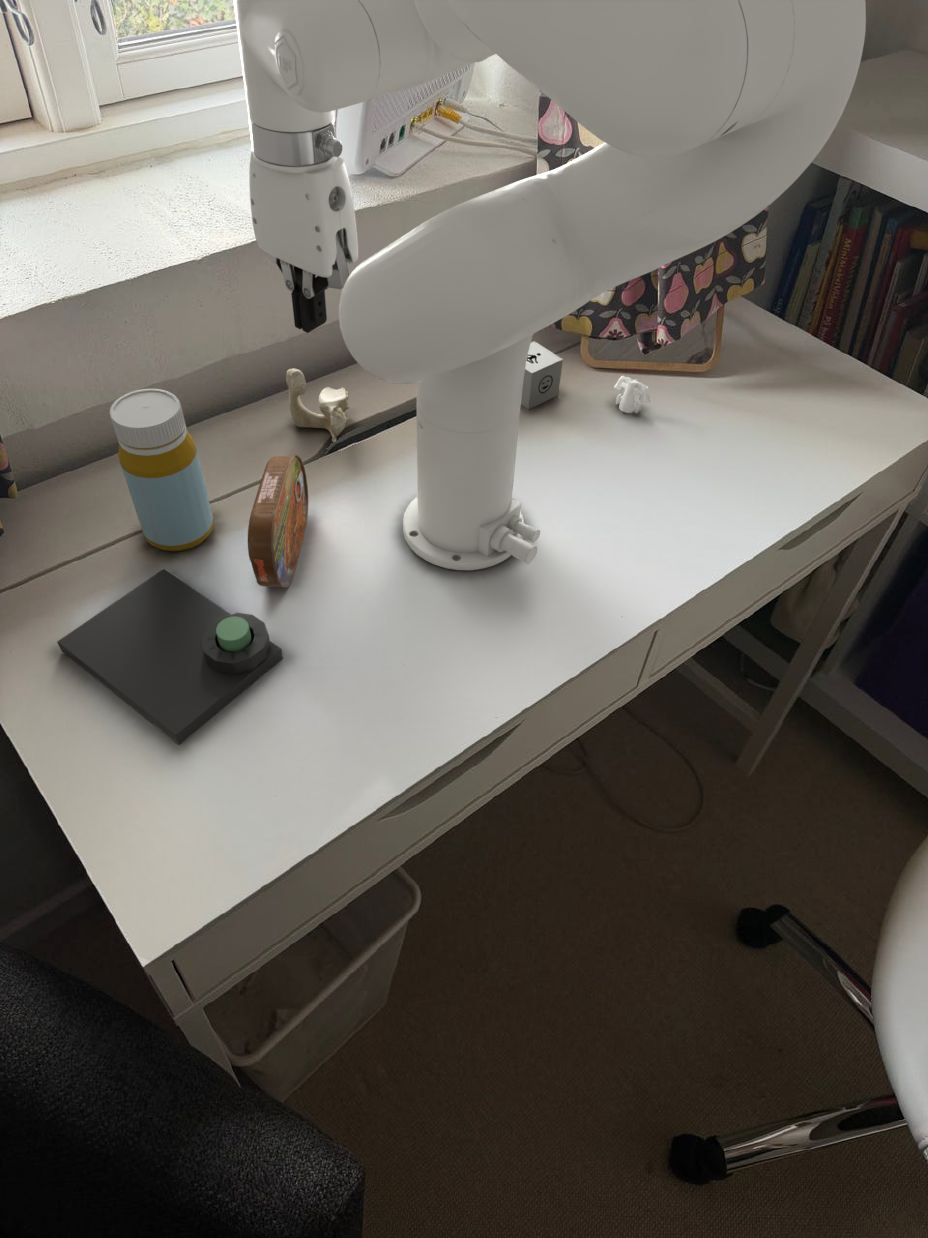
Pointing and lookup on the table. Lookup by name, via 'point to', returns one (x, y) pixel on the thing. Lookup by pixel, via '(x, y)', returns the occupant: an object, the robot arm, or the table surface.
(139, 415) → the bottle
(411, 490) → the table surface
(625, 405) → the clip
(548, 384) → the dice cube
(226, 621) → the button
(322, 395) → the bone
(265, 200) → the robot arm
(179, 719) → the scale
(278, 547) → the tin
